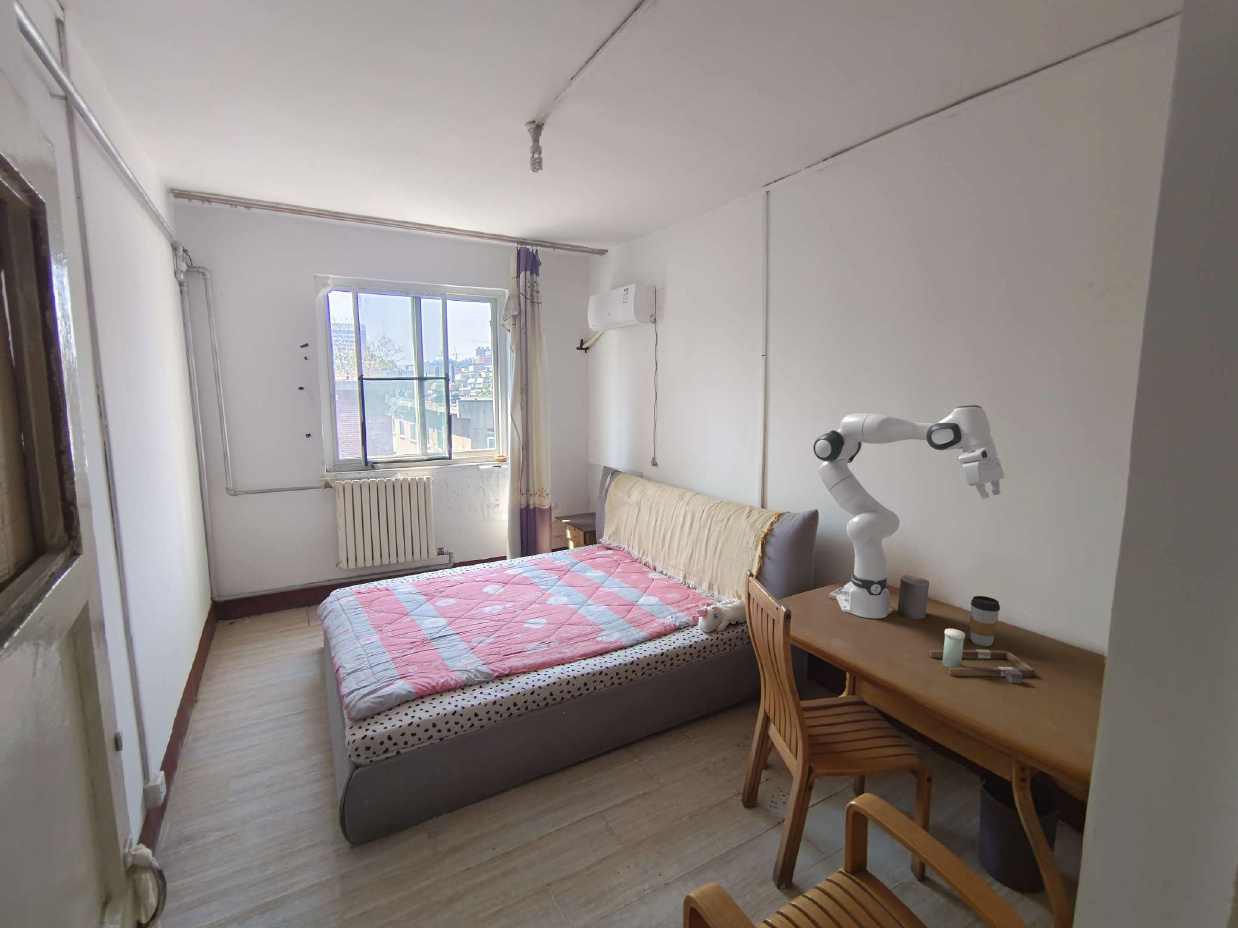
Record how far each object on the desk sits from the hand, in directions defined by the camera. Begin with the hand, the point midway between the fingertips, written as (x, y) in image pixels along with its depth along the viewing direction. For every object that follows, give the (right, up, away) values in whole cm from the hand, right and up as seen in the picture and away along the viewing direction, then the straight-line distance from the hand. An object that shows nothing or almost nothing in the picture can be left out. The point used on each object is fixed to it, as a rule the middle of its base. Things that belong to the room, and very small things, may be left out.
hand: (991, 496), depth 180 cm
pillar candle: (-7, -47, +35) cm, 59 cm away
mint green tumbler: (-15, -52, -3) cm, 54 cm away
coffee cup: (+5, -50, +12) cm, 52 cm away
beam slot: (-6, -53, -5) cm, 53 cm away
